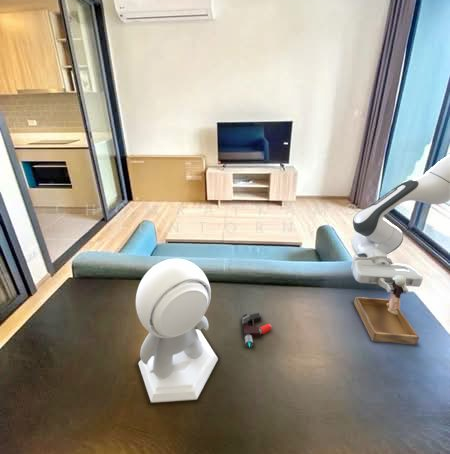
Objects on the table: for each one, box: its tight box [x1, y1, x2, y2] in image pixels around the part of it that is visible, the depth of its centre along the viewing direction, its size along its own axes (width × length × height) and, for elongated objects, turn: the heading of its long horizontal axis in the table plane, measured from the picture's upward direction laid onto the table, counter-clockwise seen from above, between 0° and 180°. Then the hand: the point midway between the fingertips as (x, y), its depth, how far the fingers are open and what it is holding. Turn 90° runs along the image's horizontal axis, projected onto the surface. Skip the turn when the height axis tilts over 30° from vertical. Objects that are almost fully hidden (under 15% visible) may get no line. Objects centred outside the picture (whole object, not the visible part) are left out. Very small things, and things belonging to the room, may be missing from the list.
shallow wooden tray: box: [353, 296, 420, 345], centre depth 85 cm, size 13×15×4 cm
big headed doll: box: [135, 258, 219, 404], centre depth 66 cm, size 20×23×35 cm
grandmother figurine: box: [387, 275, 406, 315], centre depth 78 cm, size 8×4×13 cm, turn 165°
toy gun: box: [241, 312, 272, 348], centre depth 81 cm, size 10×12×5 cm
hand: (398, 291), depth 77 cm, fingers closed on grandmother figurine, 3 cm apart
